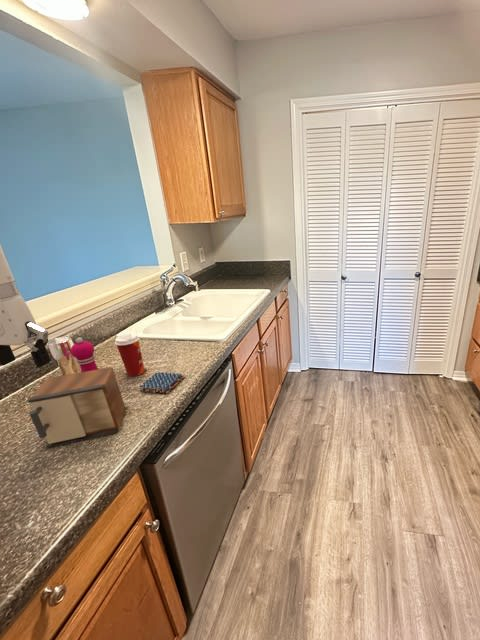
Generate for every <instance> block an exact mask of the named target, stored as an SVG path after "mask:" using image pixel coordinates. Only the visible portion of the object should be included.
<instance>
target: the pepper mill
mask: <svg viewBox="0 0 480 640" xmlns="http://www.w3.org/2000/svg"><path fill="white" fill-rule="evenodd" d="M83 339H84V338H83V337H76V338H75V342H76V343H74V345H73V346H72V347H71V354H72V356H73V357H75V358H76V361H77V364H79V368H80V370H81V372H87V371H93V370H98V369H100V368H99V366H97V363H96V361H95V360H96V357H95V356H96V355H95V347H94V345H93V343H92V342H89V341H87V340H83Z"/></svg>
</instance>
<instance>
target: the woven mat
mask: <svg viewBox="0 0 480 640" xmlns="http://www.w3.org/2000/svg"><path fill="white" fill-rule="evenodd" d="M184 378H185V377H184V375H183V373H178V372H177V373H175V372H160V371H158V372H154V374H153V375H151V377H149V378H148V379H147V380H145V381H144V382H142V384H141V385H139V390H140V391H144V392H145V393H146V392H150V393H153V394H155V393H158V392H159V393H160V394H162V393H165V394H169V393H170V391H171V390H172V389H174V388H175V387H176V386H177V385H178V384H179V382H181V381H182V380H183V379H184Z"/></svg>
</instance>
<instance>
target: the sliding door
mask: <svg viewBox="0 0 480 640" xmlns="http://www.w3.org/2000/svg"><path fill="white" fill-rule="evenodd" d="M29 405H30V406H31V409H32V411H29V413H28V415H29V417H30V419H31V422H32V424H33V425H34V428H35V430H36V432H37V434H38V437H39V439H44V438H45V440H46V442H47V444H48V445H50V444H51V443H56V442H60V441H65V440H70V439H74V438H79V437H84V436H86V433H85V430H84V428H83V425H82V423H81V420H80V417H79V415H78V412H77V410H76V407H75V404H74V402H73V399H72V397H71V395H68V396H62V397H57V398H52V399H46V400H41V401H35V402H30V403H29Z"/></svg>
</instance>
